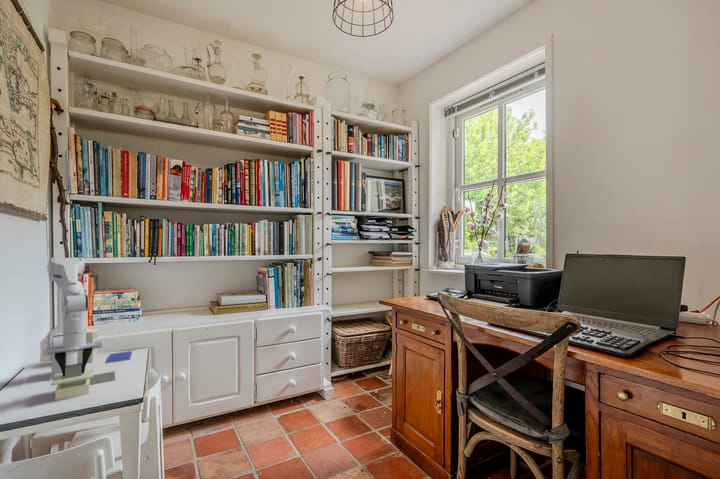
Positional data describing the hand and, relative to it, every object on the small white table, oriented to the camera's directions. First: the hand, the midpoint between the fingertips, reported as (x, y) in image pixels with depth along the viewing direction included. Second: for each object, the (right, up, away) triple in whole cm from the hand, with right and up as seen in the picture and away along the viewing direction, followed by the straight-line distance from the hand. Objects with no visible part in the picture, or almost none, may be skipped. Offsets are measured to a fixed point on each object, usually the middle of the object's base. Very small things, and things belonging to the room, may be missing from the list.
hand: (73, 373), depth 109 cm
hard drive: (-10, -8, +35) cm, 37 cm away
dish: (0, -7, 0) cm, 6 cm away
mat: (-2, -7, +11) cm, 13 cm away
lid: (0, -1, 0) cm, 1 cm away
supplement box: (-23, -8, +32) cm, 41 cm away
